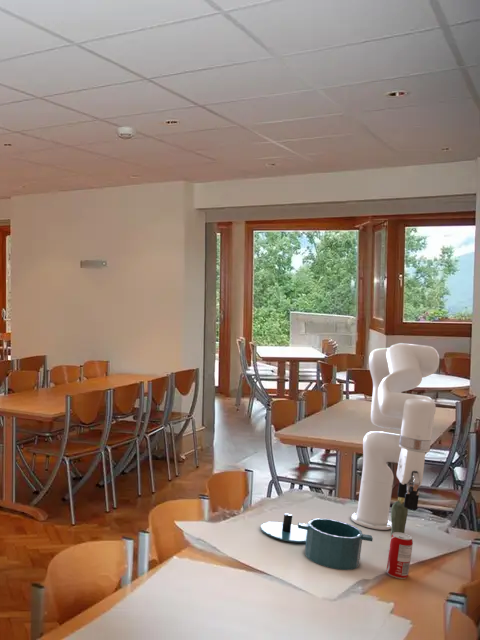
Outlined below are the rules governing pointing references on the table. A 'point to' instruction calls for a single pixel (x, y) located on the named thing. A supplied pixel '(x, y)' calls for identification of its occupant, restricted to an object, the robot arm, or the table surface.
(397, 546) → the soda can
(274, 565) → the table surface
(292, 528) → the lid
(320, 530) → the pot
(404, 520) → the vegetable
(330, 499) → the table surface
